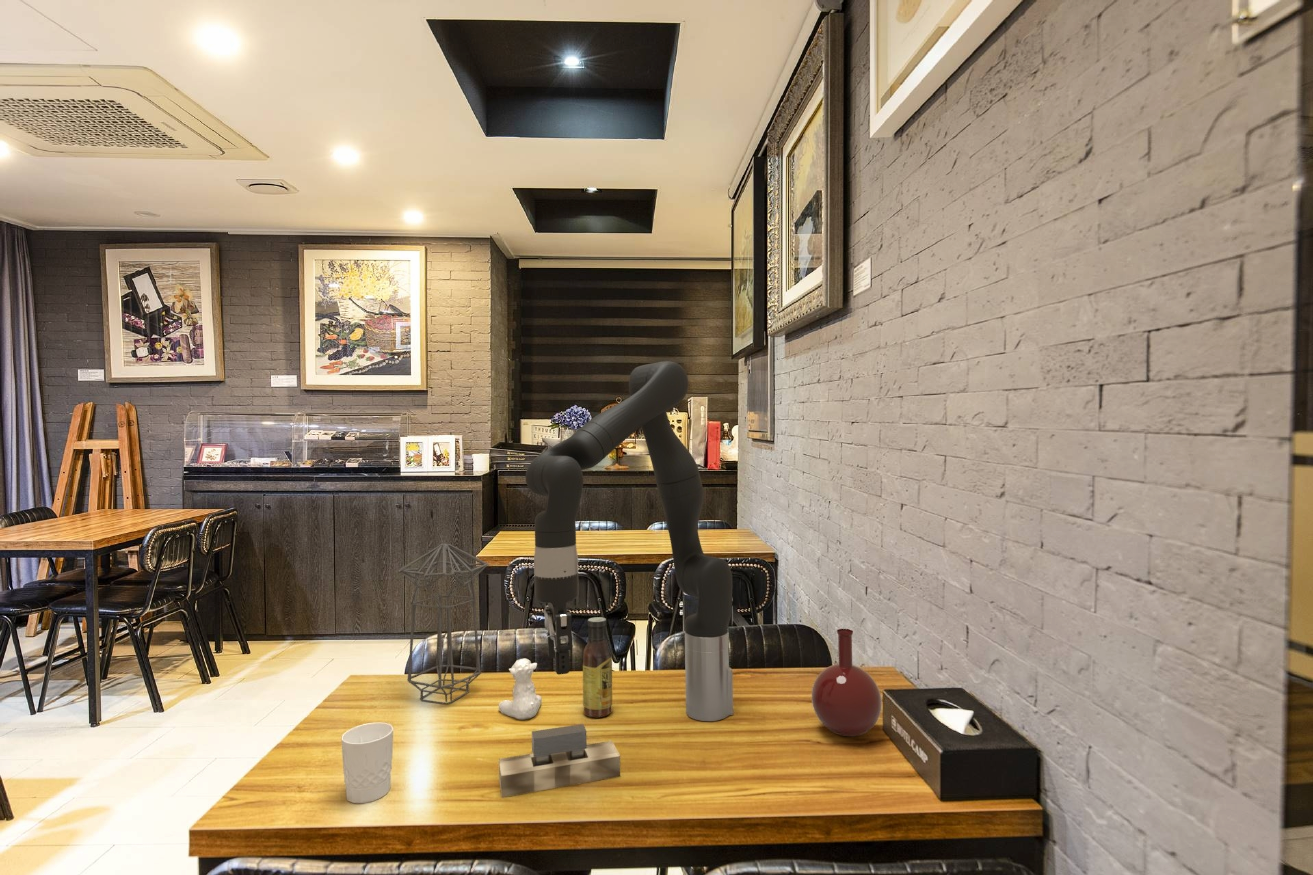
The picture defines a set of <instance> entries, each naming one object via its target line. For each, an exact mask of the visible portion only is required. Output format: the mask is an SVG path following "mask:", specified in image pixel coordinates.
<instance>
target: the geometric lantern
mask: <svg viewBox="0 0 1313 875" xmlns="http://www.w3.org/2000/svg"><path fill="white" fill-rule="evenodd" d="M441 553H442V561H439V560H440V557H441ZM446 553H447V554H446ZM446 555H448V558H449V561H448V560H447V558H446V557H447V556H446ZM461 555H463V556H465V557H467V558H469V559H471V560H473V561H475V562H476V563H470V562H468V561H467V560H466V559H465V558H463V557H462V556H461ZM427 556H429V557H427ZM425 557H427V558H426V560H424V561H423V563H422V564H421V565H420V566H419V567H418V568H409V567H410V566H412V565H413V564H415V563H417V562H419V561H421V560H422V559H424V558H425ZM436 560H437V561H436ZM439 564H442V572H437V573H436V572H435V573H434V571H435V570H436V568H437V567H438V565H439ZM453 566H454V567H455V568H454V567H453ZM476 566H477V567H476ZM487 566H490V564H489V563H488V562H486V561H484V560H481V558H477V557H476V556H474V555H472V554H470V553H469V552H466V551H464V550H462V549H460V548H458V547H456V546H454V545H452V544H450V543H441V544H439V545H438V546H436V547H435V548H433V549H432V550H430V551H428V552H426V553H425V554H423V555H421V556H419V557H418V558H416V559H415V560H413V561H411V562H409V563H407V564H406V565H404V566H402V567H400V568H399V569H398V573H400V574H401V575H403V576H404V577H405V578H406V579H407V580H408V581H409V582H411V584H413V585H414V586H415V590H414V592H413V593H414V594H413V597H412V600H411V603H410V605H411V615H410V640H409V641H410V642H409V658H408V669H407V670H408V671H407V683H409V684H411V685H412V686H414V688H416V689H417V690H419V692H420V698H419V700H420V701H421V702H425V703H433V704H439V705H445V706H446V705H449V704H453V703H454V702H456V701H458V699H461V698H462V697H464V696H465V695H467V694H468V693H470V684H471V683H472V682H473V681H474V680H475V679H477V678H478V677H479V676H480V675H481V674H482V672H481V660H480V659H481V658H480V649H479V637H478V635H479V634H478V625H477V623H478V621H477V620H478V619H477V602H476V601H477V600H476V599H477V597H476V594H475V588H474V587H475V586H474V580H475V578H476V577H478V575H480V574H481V572H483V570H484V569H486V568H487ZM432 567H433V568H432ZM447 568H449V569H450V570H451V571H450V573H447ZM464 569H466V570H464ZM423 570H426V571H425V573H424V572H422V571H423ZM430 570H431V571H430ZM469 573H470V574H469ZM413 574H414V575H413ZM465 574H469V575H465ZM420 575H421V576H423V578H420ZM456 575H457V576H456ZM435 576H437V577H435ZM443 576H452V577H453V578H454V579H455V582H454V583H453V585H452V587H451V588H450V590H449V592H448V593H447V594H440V593H439V591H438V590H437V589H436V588H435V586H434V585H433V583H435V582H437V581H438V580H440V579H441V578H442V577H443ZM431 577H435V578H434V579H432V580H431V581H430V579H431ZM461 578H462V580H460V579H461ZM465 579H466V581H465ZM468 579H469V580H468ZM420 582H424V584H422V585H421V584H420ZM427 582H428V583H427ZM457 583H458V585H457ZM456 585H457V586H456ZM466 585H467V586H468V590H469V594H470V596H468V595H467V596H466V595H455V594H456V592H457V590H458V589H459V587H460V586H461V587H465V586H466ZM421 588H422V589H423V588H427V589H428V590H429V593H430V594H431V595H432V596H431V597H428V598H425V599H422V600H418V601H417V598H418V593H419V589H421ZM432 588H433V589H434V591H435V592H436V594H437V595H436V594H435V593H434V591H433V590H432ZM453 590H454V591H453ZM452 592H453V593H452ZM451 593H452V594H451ZM442 598H446V604H445V605H442ZM453 598H463V599H470V600H467V601H462V602H459V603H457V604H454V605H450V602H451V600H453ZM430 600H435V602H436V603H437V605H428V604H419V603H423V602H426V601H430ZM468 603H471V604H472V615H473V626H474V646H475V647H474V648H475V667H472V666H462V665H455V664H454V656H453V640H452V621H451V619H452V618H451V608H455V607H457V606H461V605H464V604H468ZM417 607H421V608H422V607H424V608H425V607H426V608H435V609H438V612H437V613H438V614H437V615H438V616H437V631H436V632H437V634H436V635H437V636H436V655H435V666H433V667H430V668H428V669H426V670H422V671H421V672H419V673H416V674H414V675H412V670H413V669H412V667H413V666H412V665H413V664H412V663H413V646H414V634H415V622H416V612H417V611H416V610H417V609H416V608H417ZM443 609H446V642H447V643H446V647H447V648H446V651H447V653H446V654H447V657H446V658H447V660H446V662H447V664H442V663H443V662H442V659H443V658H442V655H443V654H442V653H443V651H442V647H443V646H442V645H443V644H442V640H443V639H442V638H443V633H442V631H443V616H442V614H443V612H442V611H443ZM442 668H446V670H445V672H444V675H443V678H442ZM449 668H450V677H451V678H450V679H448V678H446V677H447V673H448V670H449ZM454 668H455V669H465V670H472V671H474V672H473V673H472V674H471V675H469V676H467V677H464V678H462V679H460V680H459V679H455V676H454ZM435 669H436V673H437V678H438V680H436V681H433V682H431V683H428V682H427V683H426V682H421V681H415V680H413V679H414V678H417V677H420V676H422V675H424V674H426V673H429V672H430V671H433V670H435ZM446 682H451V683H447V684H445V683H446ZM436 683H437V684H436ZM461 683H464V684H463V685H461V686H459V687H455V686H456V685H459V684H461ZM419 686H423V687H422V688H421V687H419ZM427 688H435V689H433V690H425V689H427ZM445 689H450V690H449V692H446V690H445ZM437 690H441V691H442V692H441V691H440V692H439V691H437ZM458 690H459V691H466V692H464V693H463V694H461V695H459V696H457V697H455V699H453V693H455V692H456V691H458ZM424 693H426V694H425V695H424ZM431 694H437V695H442V696H443V695H444V696H445V697H444V698H445V699H444V700H445V702H444V701H438V700H429V699H424V698H426V697H427V696H429V695H431ZM448 695H450V698H449V699H450V700H449V701H448Z"/></svg>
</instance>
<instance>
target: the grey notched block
mask: <svg viewBox="0 0 1313 875" xmlns="http://www.w3.org/2000/svg"><path fill="white" fill-rule="evenodd" d="M587 736H588V735H587V729H586V726H585V724H584V723H581V724H573V725H567V726H559V727H552V728H546V729H537V730H533V731H531V751H532V754H533V755H534V757H535V766H541V765H547V764H549V760H548V755H549V754H555V753H562V752H568V751H570V761H571V760H577V759H583V749H587V745H588V744H587V743H588V742H587V741H588V740H587V739H588V738H587Z"/></svg>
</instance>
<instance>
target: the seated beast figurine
mask: <svg viewBox="0 0 1313 875" xmlns="http://www.w3.org/2000/svg"><path fill="white" fill-rule="evenodd" d="M537 665H538V663H537V662H533V663H532V662H531V660H529V659H528V658H526V657H525V658H519V659H516V661H515V662H514V664H513V665H512V666H511V668H508V670H509V672H510V675H511V676H512V677H513V679H514V685H513V690H512V700H509V699H504V700H502V701H499V704H498V710H499V711H500V713H501V714H503V715H505V716H508V717H511V718H514V719H516V720H519V721H520V720H522V721H523V720H528V719H532V718H534V717H535V716H536V715H537V713H538V712H539V709H540V708H541V707H540V706H541V705H542V696H541V695H540V694H539V695H538V694H537V693H536V687H535V684H534V682H533V679H532V678H531V677H532V675H533V673H534V670H536V668H537Z"/></svg>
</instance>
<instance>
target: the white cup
mask: <svg viewBox="0 0 1313 875" xmlns="http://www.w3.org/2000/svg"><path fill="white" fill-rule="evenodd" d="M393 748H394V727H393V725H392V724H390V723H389V722H388V723H386V722H369V723H364V724H360V725H357V726H354V727H352V728H350V729H348V730H346V731H344V733H343V734H342V735H341V751H342V752H341V753H342V754H341V755H342V765H343V766H342V768H343V770H342V771H343V779H344V781H343V782H344V783H345V796H346V800H347V801H349V802H350V803H352V804H365V803H371V802H375V801H376V800H379V799H381V798H382V797H384V796H385V795H387V794H388V793H389V791H390V789H391V785H392V784H391V781H392V780H391V779H392V778H391V777H392V774H391V773H392V769H393V767H392V766H393Z"/></svg>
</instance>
